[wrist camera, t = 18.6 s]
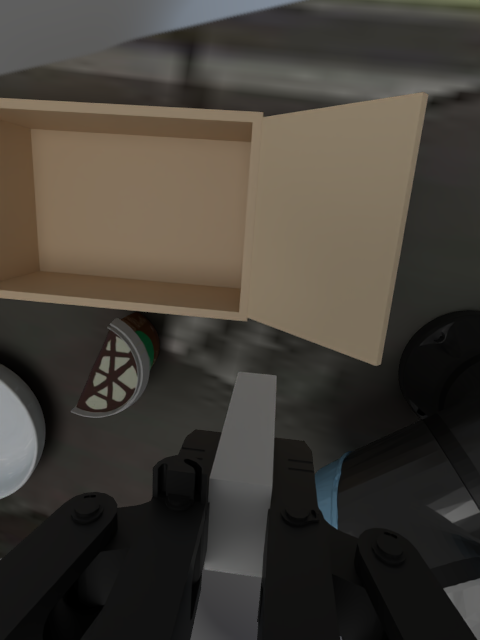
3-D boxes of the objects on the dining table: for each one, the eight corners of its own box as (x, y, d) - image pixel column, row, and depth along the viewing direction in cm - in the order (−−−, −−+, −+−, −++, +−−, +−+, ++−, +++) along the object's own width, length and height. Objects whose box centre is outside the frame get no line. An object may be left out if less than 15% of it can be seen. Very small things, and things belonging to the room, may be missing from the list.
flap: (247, 317, 38) (252, 316, 39) (376, 365, 28) (380, 364, 29) (262, 117, 34) (267, 118, 34) (423, 92, 24) (428, 94, 24)
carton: (255, 295, 50) (246, 321, 39) (37, 275, 52) (-32, 294, 41) (268, 136, 45) (263, 112, 34) (27, 122, 47) (-55, 95, 36)
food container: (146, 400, 56) (117, 440, 46) (106, 379, 55) (68, 415, 46) (184, 323, 52) (161, 350, 42) (141, 301, 52) (108, 322, 42)
